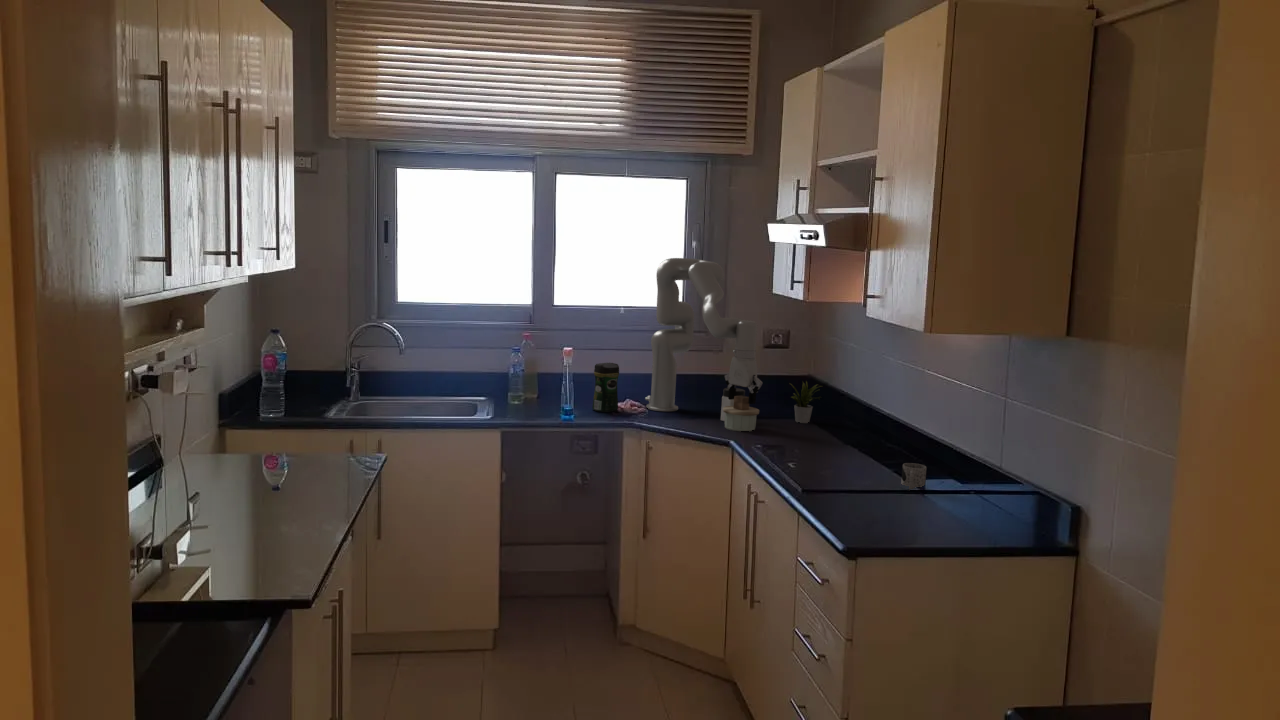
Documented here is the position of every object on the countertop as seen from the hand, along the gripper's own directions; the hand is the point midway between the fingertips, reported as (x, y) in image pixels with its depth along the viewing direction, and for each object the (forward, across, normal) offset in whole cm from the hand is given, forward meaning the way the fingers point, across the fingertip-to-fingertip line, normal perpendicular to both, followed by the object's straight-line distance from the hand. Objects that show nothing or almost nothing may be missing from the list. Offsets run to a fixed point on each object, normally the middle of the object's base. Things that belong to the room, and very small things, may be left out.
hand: (741, 401), depth 357 cm
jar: (+10, -12, +8) cm, 18 cm away
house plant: (+10, +4, +32) cm, 34 cm away
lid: (+4, 0, 0) cm, 4 cm away
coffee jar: (+10, -50, -22) cm, 55 cm away
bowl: (+10, 0, 0) cm, 10 cm away
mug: (+10, +84, -20) cm, 88 cm away
